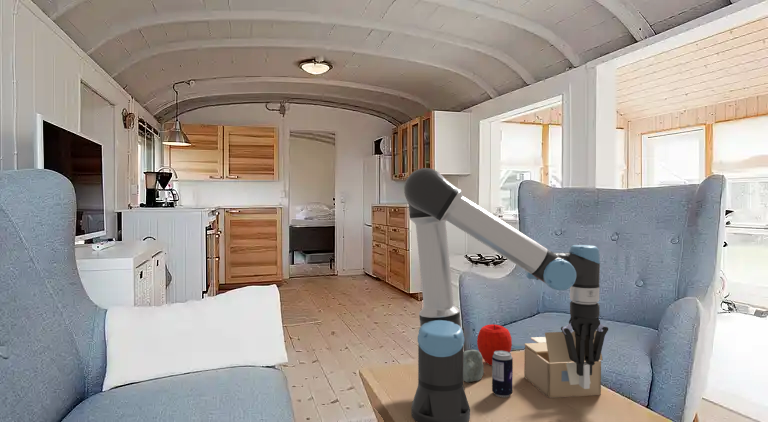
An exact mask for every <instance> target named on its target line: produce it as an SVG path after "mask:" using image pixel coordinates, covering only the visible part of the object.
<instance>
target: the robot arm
mask: <svg viewBox="0 0 768 422" xmlns="http://www.w3.org/2000/svg"><path fill="white" fill-rule="evenodd" d="M403 191H404V196H405V199H406V201H407V202H408V203H407V204H408V206H407V207H408V213H409V215H408V216H409V220H410V221H412V223H414V224H415V231H416V240H417V243H416V244H417V251H418V262H419V272H420V281H421V293H422V304H423V307H422V308H421V310H420V311H419V312H418V316H419V325H420V327H419V329H418V334H417V344H418V345H417V346H418V348H417V349H418V351H417V352H418V356H417V357H418V359H417V362H418V364H417V365H418V366H417V371H418V372H417V373H418V374H417V375H418V376H417V378H418V379H417V380H418V381H417V383H418V384H417V388H416V390H415V394H414V397H413V400H412V403H411V418H412V419H413V420H414V421H415V422H469V421H470V419H471V407H470V404H469V401H468V398H467V397H468V396H467V394H466V391H465V389H464V381H463V352H464V345H465V336H464V330H463V329H462V321H461V311H460V309H459V308H458V306H457V305H455V303H454V294H453V286H452V284H453V283H452V274H451V266H450V265H451V262H450V253H449V243H448V233H447V232H448V231H447V222H448V223H450V224H452V225H453V226H455V227H457V228H458V229H459V230H461V231H462V232H464V233H466V234H467V235H468V236H470V237H472V238H473V239H475V240H477V241H479V242H480V243H482V244H483V245H485V246H486V247H487V248H489V249H490V250H493V251H494V252H496V253H497V254H499V255H500V256H501V257H504V258H505V259H507V260H509V262H511V263H513V264H515V265H516V266H518V267H519V268H521V269H523V270H524V273H525V276H526V278H527V279H528V280H536V281H542V283H544V284H546V285H547V286H548V287H549V288H551V289H552V290H555V291H566V290H569V299H570V300H571V301H569V314H570V316H569V317H570V318H569V320H568V324H566V326H561V327H560V331H561V332H563V334H564V336H565V340H566V345H567V349H568V354H569V358H570V360H572V361H573V362H575V363H576V364H577V368H576V372H577V374H578V375H579V385H580V386H581V387H582V388H584V389H590V375H592V365H594V364H595V363H594V362H596V361H597V362H598V361H599V359H600V355H601V354H602V349H603V346H604V341H605V336H606V335H607V333H608V331H609V327H608V326H605V325H603V323H601V320H600V319H599V317H600V316H601V314H600V309H601V308H600V307H601V306H600V303H599V301H600V277H601V276H600V274H601V272H600V270H601V257H600V255H601V253H600V249H599V247H597V246H596V245H592V244H590V245H589V244H573V245H571V246H570V248H569V252H568V251H567V252H554V251H551V250H549V249H548V248H546V247H545V246H543V245H541V244H540V243H539V242H537V241H535V240H534V239H532V238H530V237H529V236H527V235H525V234H524V233H523V232H521V231H520V230H518V229H516V228H514V227H513V226H511V225H510V224H508V223H506V222H505V221H503V220H502V219H501V218H499V217H497V216H496V215H494V214H492V213H490V212H489V211H487V210H486V209H484V208H482V207H481V206H480V205H478V204H477V203H475V202H473V201H472V200H470V199H468V198H467V197H465V196H464V195H463V193H462V190H461V189H460V188H458V187H457V186H456V185H454V184H453V183H451V182H450V181H449V180H448V179H446V178H445V177H444V175H442V174H441V173H440V172H439V171H438V170H437V169H433V168H430V167H423V168H419V169H416V170H414V171H413V172H412V173H411V174H410V175H409V176H407V178H406V180H405V183H404V187H403ZM573 331H574V332H575V337H576V348H575V344H574V339H573V336H572V334H571V333H572V332H573ZM595 331H596V334H595V339H594V333H595ZM593 340H594V343H593ZM584 360H585V362H584Z"/></svg>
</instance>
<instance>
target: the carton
mask: <svg viewBox="0 0 768 422" xmlns="http://www.w3.org/2000/svg"><path fill="white" fill-rule="evenodd" d="M584 362H585V361H584ZM566 363H573V361H572V362H549V356H548V353H535V352H533V351H532V350H531V349H529V348H528V347H526V346H525V345H524V365H523V366H524V375H523V377H524V378H525V379H526V380H527V381H528V382H529V383H530V384H531V385H533V386H534V387H535V388H536V389H537V390H538V391H539V392H541V393H542V394H543V395H544V396H545V397H547V398H548V399H553V398H569V397H570V398H571V397H586V396H588V397H589V396H601V395H602V392H601V391H602V390H601V389H602V360H599V361H598V362H597V361H596V362H594V363H595V364H594V365H592V375H590V382H591V384H590V389H584V388H582V387H581V386H580V385H579V384H576V385H570V383H569V377H568V371H567V365H566Z"/></svg>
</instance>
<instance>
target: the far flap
mask: <svg viewBox="0 0 768 422" xmlns="http://www.w3.org/2000/svg"><path fill="white" fill-rule="evenodd" d="M530 340H532V341H533V342H531V343H530V342H527V343H524V347H525V346H526V347H528V348H529V349H531V350H532V351H533V352H535V353H548V350H547V343H546V337H545V336H536V337H530Z"/></svg>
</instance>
